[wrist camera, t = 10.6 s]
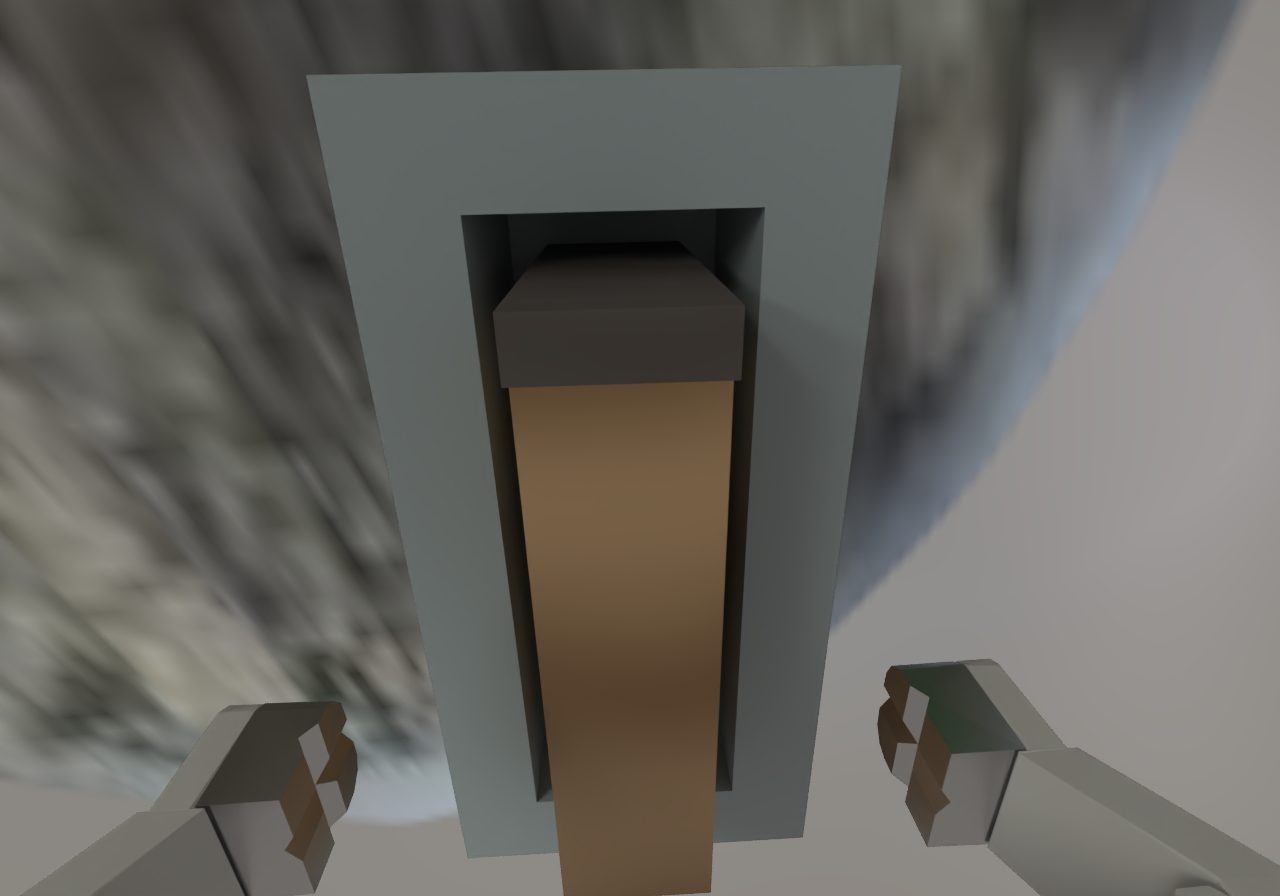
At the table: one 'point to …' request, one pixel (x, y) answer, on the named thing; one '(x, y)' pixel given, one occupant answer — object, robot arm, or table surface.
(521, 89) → the grey hollow frame
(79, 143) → the table surface
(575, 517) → the brown rectangular block
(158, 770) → the table surface
